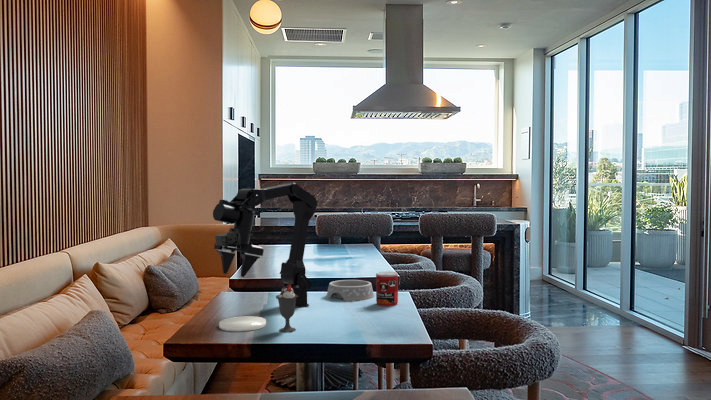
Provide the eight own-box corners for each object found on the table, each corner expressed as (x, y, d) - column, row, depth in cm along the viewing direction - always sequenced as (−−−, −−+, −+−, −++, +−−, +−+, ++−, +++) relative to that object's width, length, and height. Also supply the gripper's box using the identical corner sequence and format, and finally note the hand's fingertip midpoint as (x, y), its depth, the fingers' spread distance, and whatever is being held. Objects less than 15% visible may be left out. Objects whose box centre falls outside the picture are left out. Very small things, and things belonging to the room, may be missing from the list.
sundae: (295, 333, 165) (294, 281, 164) (273, 332, 166) (272, 281, 165) (301, 327, 171) (301, 277, 171) (280, 326, 172) (279, 277, 172)
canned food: (373, 305, 202) (372, 274, 201) (380, 300, 209) (380, 270, 209) (393, 307, 199) (393, 275, 198) (400, 302, 206) (400, 272, 206)
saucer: (257, 318, 184) (257, 314, 184) (272, 327, 172) (272, 323, 171) (214, 323, 177) (214, 319, 177) (226, 333, 165) (225, 329, 165)
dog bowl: (344, 290, 231) (344, 277, 231) (382, 295, 220) (382, 281, 220) (317, 298, 217) (317, 283, 217) (356, 303, 206) (356, 288, 206)
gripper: (205, 220, 184) (195, 269, 182) (240, 223, 172) (230, 275, 169) (232, 227, 192) (223, 273, 190) (268, 230, 180) (259, 279, 177)
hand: (233, 275), depth 181 cm, fingers open, 9 cm apart
